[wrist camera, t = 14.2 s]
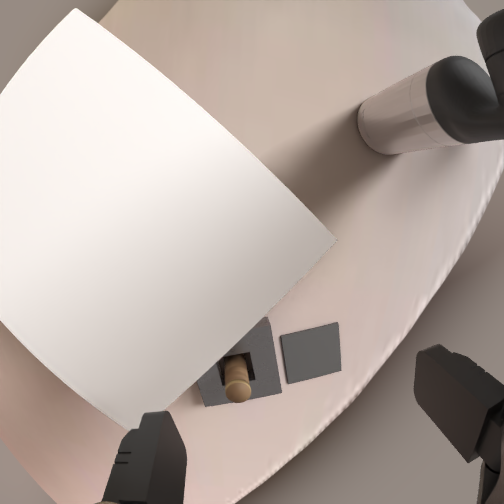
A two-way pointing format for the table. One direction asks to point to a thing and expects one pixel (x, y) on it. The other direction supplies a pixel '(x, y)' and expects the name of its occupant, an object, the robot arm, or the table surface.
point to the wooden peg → (236, 378)
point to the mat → (312, 352)
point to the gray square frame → (260, 379)
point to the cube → (134, 225)
